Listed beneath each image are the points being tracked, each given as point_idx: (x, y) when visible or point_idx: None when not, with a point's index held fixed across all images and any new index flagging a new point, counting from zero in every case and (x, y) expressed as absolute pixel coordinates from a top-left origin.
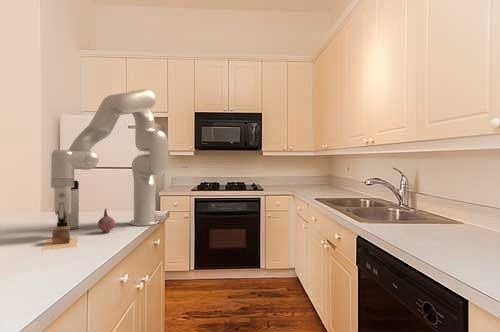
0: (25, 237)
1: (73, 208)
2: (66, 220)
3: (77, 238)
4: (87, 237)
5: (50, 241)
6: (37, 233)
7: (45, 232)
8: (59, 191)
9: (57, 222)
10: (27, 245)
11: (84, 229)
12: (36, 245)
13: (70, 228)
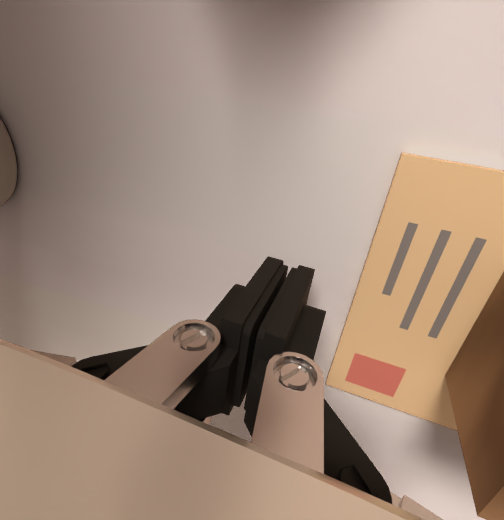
0: None
1: None
2: (186, 323)
3: (488, 171)
4: (460, 27)
5: (427, 389)
6: (82, 345)
7: (64, 307)
8: None
9: (229, 411)
10: (413, 489)
11: (3, 17)
12: (463, 467)
13: (4, 153)
